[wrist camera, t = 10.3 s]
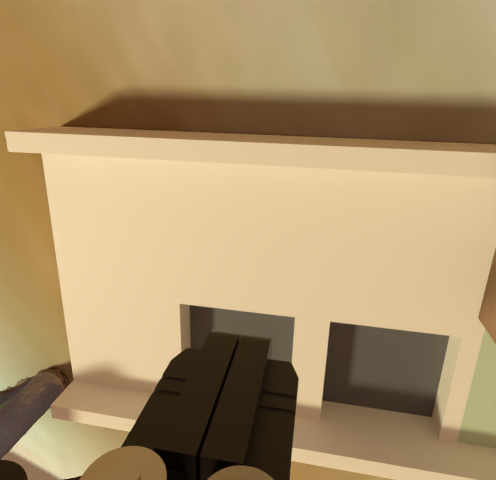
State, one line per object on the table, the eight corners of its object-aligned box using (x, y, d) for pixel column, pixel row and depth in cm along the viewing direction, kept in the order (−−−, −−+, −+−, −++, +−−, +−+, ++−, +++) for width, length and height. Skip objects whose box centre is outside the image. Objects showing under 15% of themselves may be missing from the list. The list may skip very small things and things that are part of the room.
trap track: (60, 126, 25) (4, 131, 20) (674, 151, 19) (771, 165, 15) (91, 374, 30) (52, 417, 26) (566, 448, 25) (613, 518, 21)
